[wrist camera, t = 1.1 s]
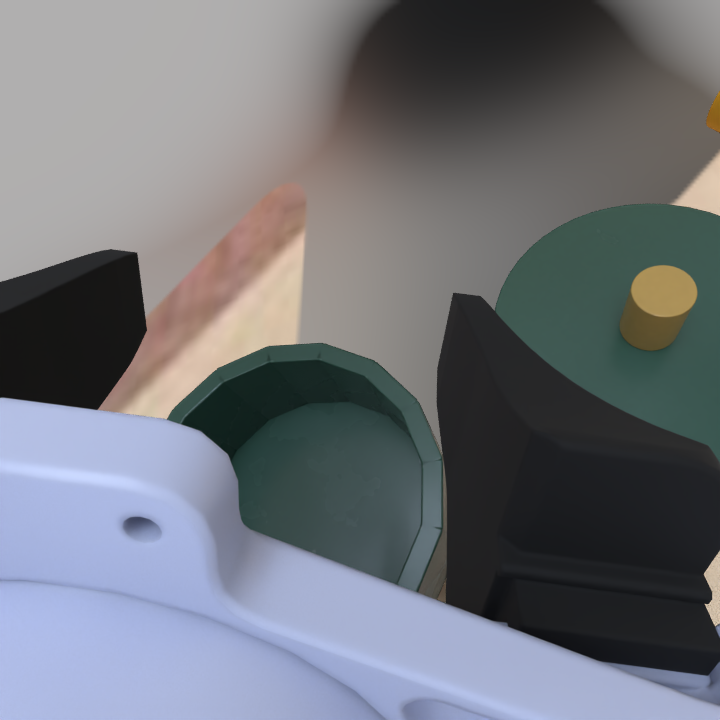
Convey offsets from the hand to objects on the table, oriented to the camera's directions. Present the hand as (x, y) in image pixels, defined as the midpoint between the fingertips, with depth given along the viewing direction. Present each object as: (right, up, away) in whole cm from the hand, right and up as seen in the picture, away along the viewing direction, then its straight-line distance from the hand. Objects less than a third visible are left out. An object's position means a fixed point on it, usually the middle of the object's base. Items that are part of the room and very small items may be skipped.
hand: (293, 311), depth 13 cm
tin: (0, -8, +14) cm, 16 cm away
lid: (+15, 0, +13) cm, 20 cm away
